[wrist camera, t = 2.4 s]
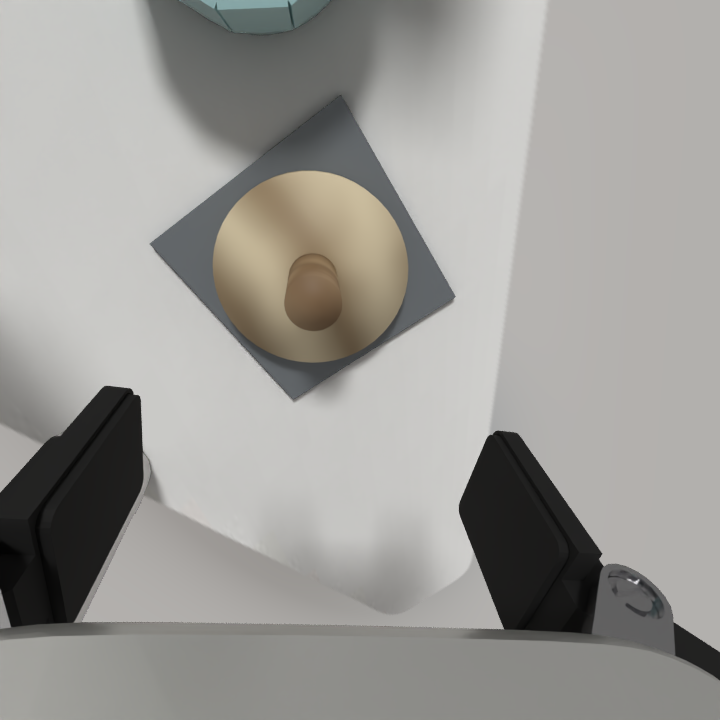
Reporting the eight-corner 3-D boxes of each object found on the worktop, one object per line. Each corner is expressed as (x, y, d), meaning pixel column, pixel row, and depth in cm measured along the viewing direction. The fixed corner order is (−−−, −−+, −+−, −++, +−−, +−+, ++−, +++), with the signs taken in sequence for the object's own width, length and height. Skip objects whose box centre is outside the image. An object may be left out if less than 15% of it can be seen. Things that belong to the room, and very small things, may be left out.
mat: (293, 396, 31) (293, 399, 31) (151, 242, 25) (149, 243, 25) (453, 294, 29) (455, 296, 28) (340, 95, 23) (340, 94, 22)
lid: (296, 383, 30) (292, 434, 25) (174, 249, 25) (138, 277, 20) (436, 292, 28) (465, 327, 23) (335, 124, 23) (342, 119, 18)
